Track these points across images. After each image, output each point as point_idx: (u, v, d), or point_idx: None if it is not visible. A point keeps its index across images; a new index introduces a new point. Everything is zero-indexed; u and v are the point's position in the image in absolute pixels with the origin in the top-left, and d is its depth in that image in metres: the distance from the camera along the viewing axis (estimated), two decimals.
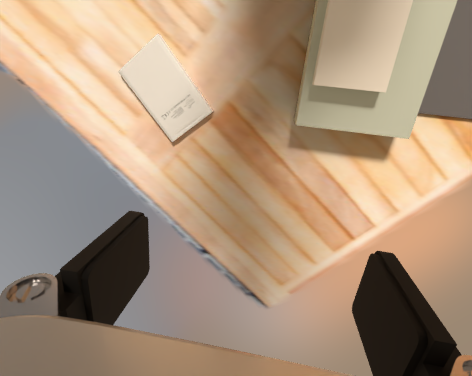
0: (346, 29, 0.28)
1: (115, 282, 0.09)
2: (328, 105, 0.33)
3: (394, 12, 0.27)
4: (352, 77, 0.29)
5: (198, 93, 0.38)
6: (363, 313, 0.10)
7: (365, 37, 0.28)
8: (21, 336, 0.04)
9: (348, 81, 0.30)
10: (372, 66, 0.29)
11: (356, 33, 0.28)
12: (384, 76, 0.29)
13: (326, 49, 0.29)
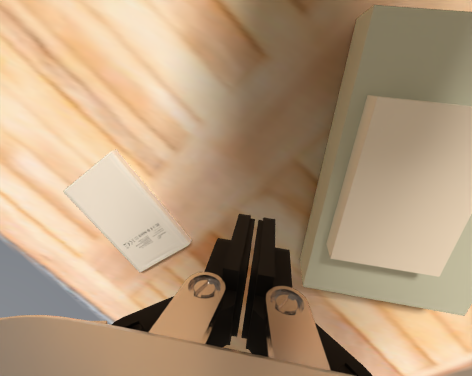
0: (383, 196, 0.18)
1: (245, 280, 0.10)
2: (349, 268, 0.23)
3: (462, 180, 0.17)
4: (389, 255, 0.20)
5: (170, 222, 0.28)
6: None
7: (412, 209, 0.18)
8: (21, 336, 0.04)
9: (382, 259, 0.20)
10: (421, 244, 0.19)
11: (398, 202, 0.18)
12: (438, 258, 0.19)
13: (351, 218, 0.19)
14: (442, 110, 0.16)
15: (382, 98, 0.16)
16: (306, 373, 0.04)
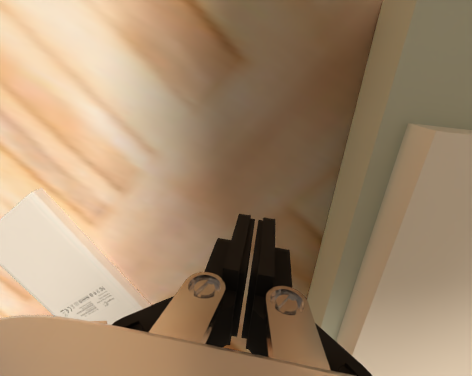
0: (436, 292, 0.11)
1: (245, 280, 0.10)
2: None
3: None
4: None
5: (119, 286, 0.20)
6: None
7: None
8: (21, 336, 0.04)
9: None
10: None
11: (462, 303, 0.11)
12: None
13: (380, 322, 0.12)
14: None
15: (445, 133, 0.09)
16: (306, 373, 0.04)
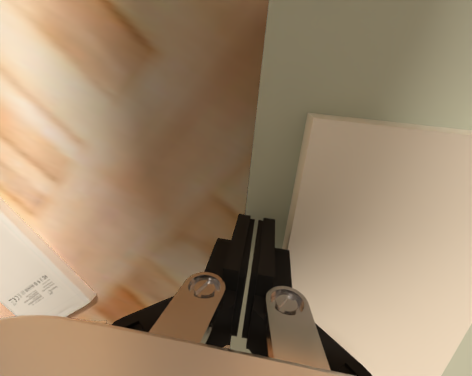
0: (337, 275, 0.11)
1: (245, 280, 0.10)
2: None
3: (465, 256, 0.10)
4: None
5: (61, 274, 0.21)
6: None
7: (385, 296, 0.11)
8: (20, 336, 0.04)
9: None
10: (401, 346, 0.12)
11: (362, 285, 0.11)
12: (429, 367, 0.12)
13: None
14: (427, 142, 0.09)
15: (322, 120, 0.09)
16: (306, 373, 0.04)
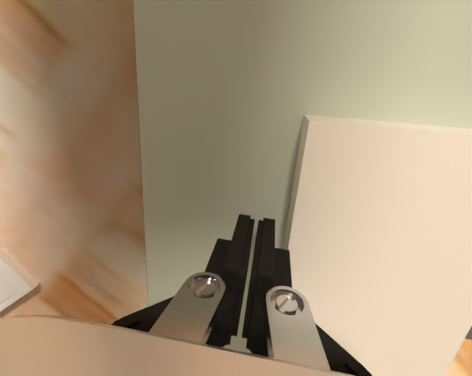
0: (337, 275, 0.11)
1: (245, 280, 0.10)
2: None
3: (465, 255, 0.10)
4: (356, 358, 0.13)
5: (1, 263, 0.21)
6: None
7: (386, 296, 0.11)
8: (20, 336, 0.04)
9: None
10: (404, 346, 0.12)
11: (362, 285, 0.11)
12: (432, 366, 0.12)
13: None
14: (423, 141, 0.09)
15: (318, 123, 0.09)
16: (306, 373, 0.04)
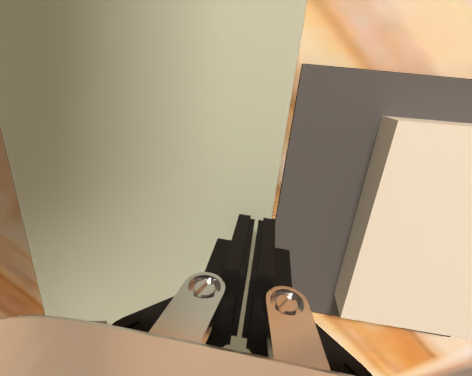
0: None
1: (245, 280, 0.10)
2: (90, 314, 0.17)
3: None
4: None
5: None
6: None
7: None
8: (21, 336, 0.04)
9: None
10: None
11: None
12: None
13: None
14: None
15: None
16: (306, 373, 0.04)
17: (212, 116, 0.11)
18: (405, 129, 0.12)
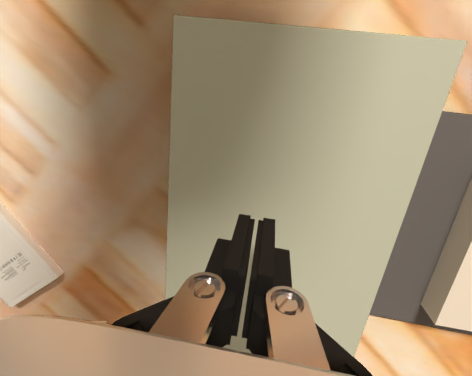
0: None
1: (245, 280, 0.10)
2: None
3: None
4: None
5: (33, 252, 0.24)
6: None
7: None
8: (20, 337, 0.04)
9: None
10: None
11: None
12: None
13: None
14: None
15: None
16: (306, 373, 0.04)
17: (361, 152, 0.14)
18: None
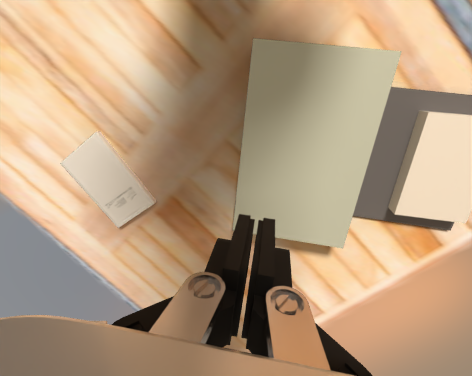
0: None
1: (245, 280, 0.10)
2: (261, 214, 0.33)
3: None
4: None
5: (139, 186, 0.38)
6: None
7: None
8: (21, 336, 0.04)
9: None
10: None
11: None
12: None
13: None
14: None
15: None
16: (306, 373, 0.04)
17: (350, 109, 0.27)
18: (431, 116, 0.28)
